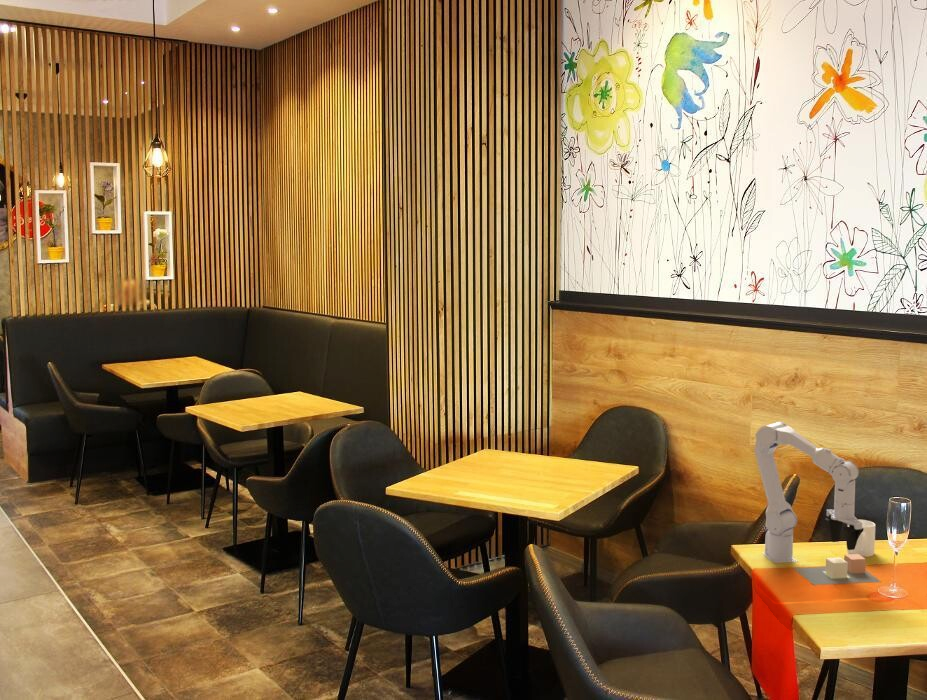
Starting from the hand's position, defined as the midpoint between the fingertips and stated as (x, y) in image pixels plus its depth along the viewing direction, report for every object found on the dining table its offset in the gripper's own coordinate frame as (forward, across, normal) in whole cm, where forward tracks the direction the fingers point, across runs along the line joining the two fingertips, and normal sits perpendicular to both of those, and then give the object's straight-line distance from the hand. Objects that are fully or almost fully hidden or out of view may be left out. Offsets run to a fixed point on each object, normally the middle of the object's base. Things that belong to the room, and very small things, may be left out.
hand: (843, 545), depth 283 cm
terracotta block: (+9, -1, +5) cm, 10 cm away
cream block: (+9, 0, -2) cm, 9 cm away
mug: (+10, -14, +17) cm, 23 cm away
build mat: (+9, 0, -2) cm, 10 cm away
